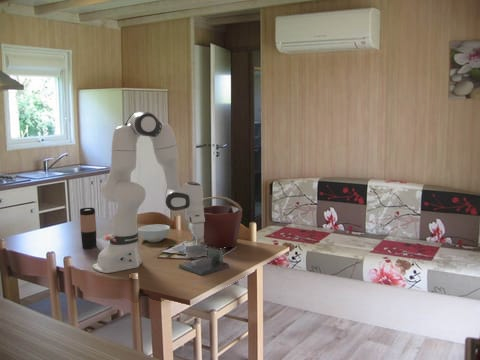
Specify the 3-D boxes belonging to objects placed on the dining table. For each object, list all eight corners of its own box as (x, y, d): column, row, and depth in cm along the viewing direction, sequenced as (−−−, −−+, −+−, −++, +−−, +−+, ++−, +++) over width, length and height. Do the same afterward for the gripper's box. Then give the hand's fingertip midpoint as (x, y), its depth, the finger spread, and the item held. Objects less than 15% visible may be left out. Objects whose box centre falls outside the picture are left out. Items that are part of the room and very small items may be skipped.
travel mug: (78, 247, 278) (76, 209, 275) (89, 244, 285) (87, 207, 282) (89, 249, 275) (87, 211, 272) (100, 245, 281) (98, 208, 278)
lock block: (186, 258, 258) (185, 245, 257) (184, 254, 264) (183, 242, 263) (206, 256, 260) (206, 244, 259) (204, 253, 267) (203, 240, 266)
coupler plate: (201, 275, 233) (201, 258, 232) (179, 267, 244) (178, 251, 243) (228, 267, 244) (228, 251, 243) (205, 259, 255) (205, 244, 254)
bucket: (188, 245, 279) (187, 198, 275) (214, 236, 298) (213, 191, 294) (227, 253, 266) (226, 203, 262) (251, 242, 284) (251, 196, 280)
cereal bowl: (173, 236, 299) (172, 224, 297) (166, 244, 282) (165, 231, 281) (143, 236, 300) (142, 223, 299) (134, 244, 284) (134, 231, 283)
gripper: (184, 211, 269) (186, 237, 271) (192, 220, 249) (193, 249, 252) (197, 210, 270) (198, 236, 273) (205, 219, 251) (207, 248, 253)
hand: (196, 242), depth 262 cm, fingers open, 8 cm apart
